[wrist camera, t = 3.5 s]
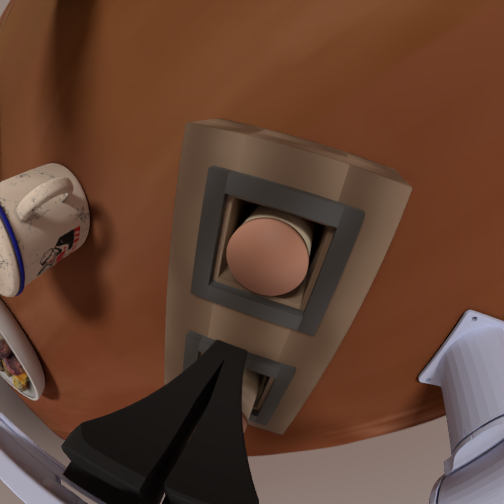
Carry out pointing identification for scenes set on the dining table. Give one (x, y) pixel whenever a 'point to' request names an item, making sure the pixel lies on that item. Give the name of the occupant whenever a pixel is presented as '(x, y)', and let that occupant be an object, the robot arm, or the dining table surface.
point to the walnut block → (319, 271)
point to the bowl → (19, 357)
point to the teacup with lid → (39, 223)
